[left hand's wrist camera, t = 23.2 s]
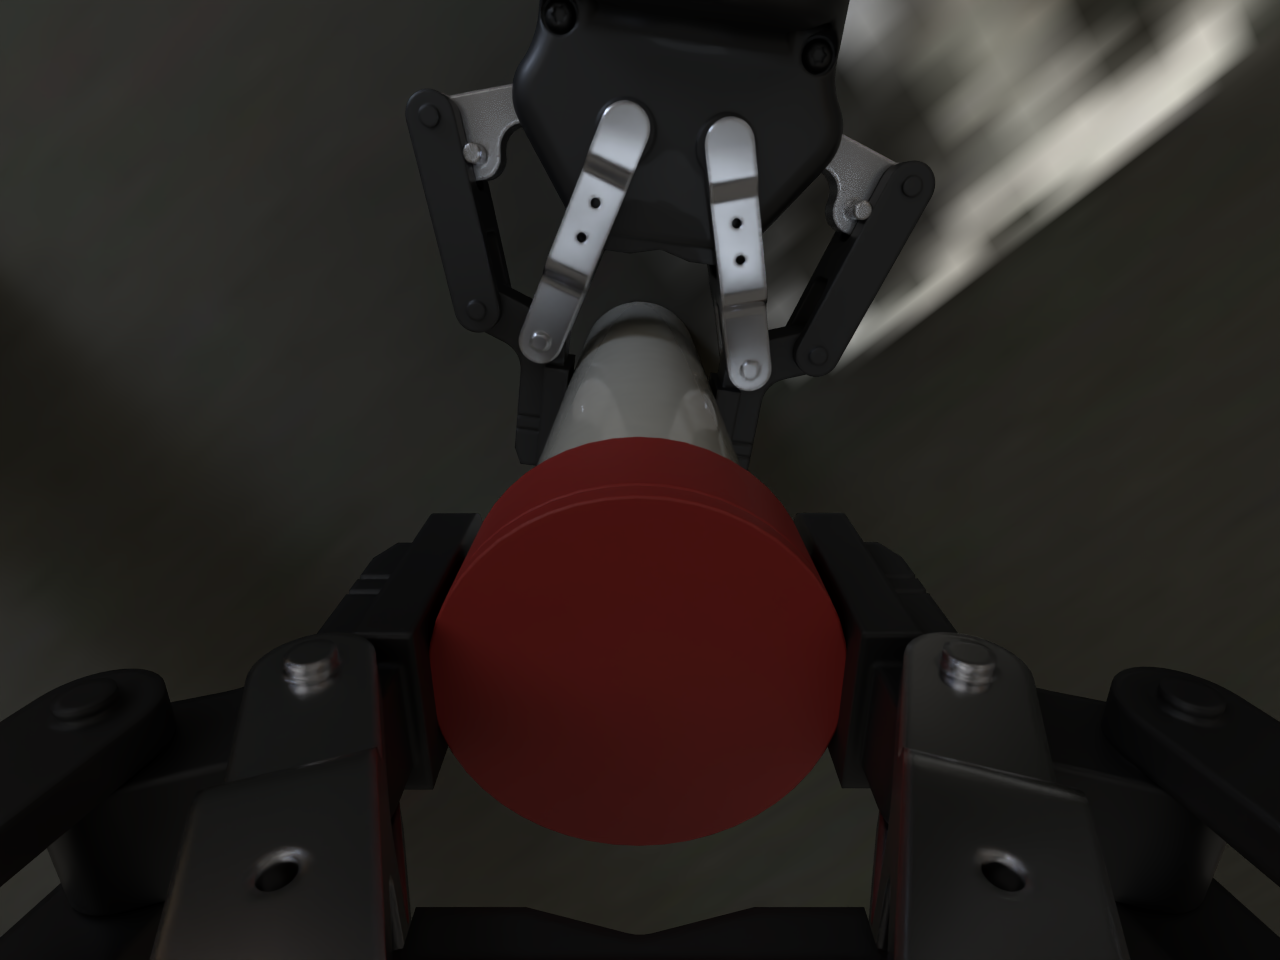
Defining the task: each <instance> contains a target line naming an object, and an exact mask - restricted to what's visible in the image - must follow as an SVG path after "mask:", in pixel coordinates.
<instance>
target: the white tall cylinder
mask: <svg viewBox="0 0 1280 960" xmlns="http://www.w3.org/2000/svg"><path fill="white" fill-rule="evenodd" d="M624 437H653V438H664V439H670V440H675V441H681V442H686V443H689V444H692V445H695V446H698V447H702V448H705V449H708V450H710V451H712V452H715V453H717V454H719V455H721V456H723V457H725V458H727V459H729V460H731V461H733V462H734V463H736V464H738V465H739V466H741V465H740V462H739V460H738V457H737V454H736V452H735V449H734V447H733V444H732V441H731V439H730V436H729V434H728V431H727V428H726V426H725V423H724V421H723V418H722V415H721V413H720V410H719V407H718V405H717V402H716V400H715V397H714V394H713V392H712V389H711V387H710V384H709V381H708V379H707V376H706V374H705V371H704V368H703V366H702V363H701V360H700V358H699V355H698V353H697V350H696V347H695V345H694V342H693V340H692V337H691V335H690V333H689V331H688V329H687V327H686V326H685V325H684V323H683V322H682V321H681V320H680V319H679V318H678V317H677V316H676V315H675V314H674V313H672V312H671V311H669V310H668V309H666V308H664V307H662V306H659V305H657V304H653V303H648V302H631V303H626V304H623V305H620V306H617V307H615V308H613V309H611V310H610V311H608V312H607V313H605V314H604V315H603V316H602V317H601V318H600V319H599V320H598V321H597V322H596V323H595V324H594V326H593V327H592V329H591V331H590V333H589V334H588V337H587V339H586V342H585V345H584V347H583V350H582V352H581V355H580V357H579V360H578V362H577V365H576V367H575V370H574V372H573V375H572V378H571V380H570V383H569V385H568V388H567V390H566V393H565V395H564V398H563V400H562V403H561V406H560V408H559V411H558V413H557V416H556V418H555V421H554V423H553V426H552V428H551V431H550V433H549V436H548V439H547V441H546V444H545V446H544V449H543V451H542V454H541V456H540V459H539V461H538V464H537V466H538V465H539V464H541V463H542V462H544V461H545V460H547V459H549V458H552V457H554V456H556V455H558V454H560V453H562V452H564V451H566V450H569V449H572V448H575V447H578V446H581V445H584V444H587V443H591V442H596V441H601V440H607V439H612V438H624Z"/></svg>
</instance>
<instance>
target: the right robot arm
mask: <svg viewBox="0 0 1280 960" xmlns="http://www.w3.org/2000/svg"><path fill="white" fill-rule="evenodd" d="M849 1H850V0H540V3H539V15H538V22H537V27H536V31H535V34H534V37H533V40H532V43H531V45H530V47H529V49H528V51H527V53H526V55H525V56H524V58H523V59H522V61H521V62H520V64H519V66H518V68H517V70H516V73H515V75H514V79H513V84H508V85H503V86H498V87H492V88H487V89H482V90H476V91H471V92H466V93H460V94H455V95H446V94H444V93H441V92H438V91H436V90H433V89H422V90H419V91H417V92H416V93H414V94H413V95H412V96H411V97H410V99H409V101H408V103H407V106H406V121H407V125H408V129H409V133H410V137H411V141H412V145H413V149H414V153H415V157H416V160H417V164H418V168H419V172H420V176H421V180H422V184H423V188H424V192H425V196H426V200H427V204H428V208H429V212H430V216H431V220H432V224H433V228H434V232H435V235H436V239H437V243H438V247H439V251H440V255H441V259H442V263H443V267H444V271H445V275H446V279H447V283H448V287H449V291H450V295H451V299H452V303H453V307H454V311H455V314H456V317H457V319H458V321H459V322H460V324H461V325H462V326H463V327H464V328H466V329H467V330H470V331H472V332H486V333H488V334H489V335H491V336H493V337H495V338H497V339H499V340H501V341H503V342H505V343H507V344H508V345H510V346H511V347H512V348H513V349H514V350H515V352H516V353H517V355H518V357H519V360H520V364H521V376H520V389H519V402H518V417H517V430H516V441H515V448H516V451H517V454H518V457H519V460H520V463H521V464H528V465H536V466H537V464H538V461H539V459H540V456H541V454H542V451H543V449H544V446H545V444H546V441H547V439H548V436H549V433H550V431H551V428H552V426H553V423H554V421H555V418H556V416H557V413H558V411H559V408H560V406H561V403H562V400H563V398H564V395H565V393H566V390H567V388H568V385H569V383H570V380H571V378H572V375H573V372H574V363H575V355H572V354H569V345H570V335H571V330H572V327H573V325H574V322H575V320H576V318H577V315H578V313H579V310H580V308H581V306H582V303H583V301H584V298H585V296H586V294H587V291H588V289H589V286H590V284H591V282H592V280H593V277H594V275H595V273H596V270H597V268H598V266H599V263H600V261H601V258H602V256H603V254H604V251H605V250H610V251H617V252H624V253H636V252H643V251H651V250H663V251H666V252H668V253H670V254H673V255H675V256H677V257H679V258H682V259H684V260H686V261H688V262H695V263H702V264H707V267H708V275H709V283H710V290H711V295H712V300H713V306H714V314H715V322H716V331H717V339H718V347H719V355H720V365H719V370H718V373H710V378H709V384H710V387H711V389H712V392H713V394H714V397H715V400H716V402H717V405H718V407H719V410H720V413H721V415H722V418H723V421H724V423H725V426H726V428H727V431H728V434H729V436H730V439H731V441H732V444H733V447H734V449H735V452H736V454H737V457H738V460H739V462H740V465H741V467H742V468H744V469H745V470H747V471H748V466H749V461H750V456H751V451H752V445H753V441H754V436H755V431H756V427H757V422H758V417H759V412H760V407H761V402H762V398H763V396H764V394H765V392H766V391H767V390H768V388H769V387H770V386H772V385H773V384H774V383H776V382H778V381H780V380H783V379H787V378H792V377H797V376H801V375H806V374H807V375H809V376H813V377H819V376H823V375H826V374H828V373H829V372H831V371H832V370H833V369H834V368H835V366H836V365H837V363H838V361H839V360H840V358H841V356H842V354H843V353H844V351H845V349H846V347H847V345H848V344H849V342H850V340H851V338H852V337H853V335H854V333H855V331H856V329H857V328H858V326H859V324H860V322H861V321H862V319H863V317H864V315H865V314H866V312H867V310H868V308H869V306H870V305H871V303H872V301H873V299H874V298H875V296H876V294H877V292H878V291H879V289H880V287H881V285H882V283H883V282H884V280H885V278H886V276H887V275H888V273H889V271H890V269H891V268H892V266H893V264H894V262H895V260H896V259H897V257H898V255H899V253H900V252H901V250H902V248H903V246H904V245H905V243H906V241H907V239H908V237H909V236H910V234H911V232H912V230H913V229H914V227H915V225H916V223H917V221H918V220H919V218H920V216H921V214H922V213H923V211H924V209H925V207H926V206H927V204H928V202H929V200H930V198H931V197H932V195H933V192H934V189H935V177H934V174H933V172H932V170H931V169H930V167H929V166H928V165H926V164H925V163H923V162H920V161H908V162H901V163H897V162H894V161H892V160H890V159H888V158H887V157H885V156H883V155H881V154H879V153H877V152H875V151H873V150H872V149H870V148H868V147H866V146H864V145H862V144H860V143H859V142H857V141H855V140H853V139H851V138H849V137H847V136H845V135H844V134H843V119H842V113H841V110H840V107H839V103H838V99H837V94H836V83H835V74H836V65H837V59H838V54H839V50H840V45H841V40H842V35H843V30H844V25H845V20H846V15H847V10H848V5H849ZM522 127H523V129H524V131H525V133H526V135H527V137H528V139H529V140H530V142H531V144H532V146H533V148H534V150H535V152H536V153H537V155H538V157H539V159H540V161H541V163H542V165H543V167H544V168H545V170H546V172H547V174H548V176H549V178H550V180H551V181H552V183H553V185H554V187H555V189H556V191H557V193H558V194H559V196H560V198H561V200H562V202H563V204H564V206H565V208H566V209H567V210H566V212H565V215H564V217H563V220H562V222H561V225H560V228H559V230H558V233H557V235H556V238H555V240H554V243H553V245H552V248H551V251H550V253H549V256H548V258H547V261H546V264H545V267H544V270H543V275H542V278H541V281H540V283H539V286H538V288H537V291H536V293H535V296H534V298H533V299H532V298H530V297H528V296H526V295H524V294H522V293H520V292H518V291H516V290H514V289H513V288H511V283H510V279H509V274H508V270H507V265H506V261H505V256H504V252H503V247H502V243H501V238H500V234H499V229H498V225H497V220H496V216H495V211H494V207H493V202H492V198H491V193H490V189H489V184H488V181H490V180H494V179H496V178H497V177H499V176H500V175H501V174H502V172H503V171H504V169H505V166H506V161H507V156H506V146H507V142H508V140H509V138H510V136H511V135H512V134H513V132H515V131H516V130H517V129H519V128H522ZM820 173H822V174H823V175H824V176H825V177H826V179H827V181H828V184H829V198H828V201H827V204H826V207H825V218H826V221H827V223H828V224H829V226H830V227H831V228H832V229H834V230H835V231H836V232H835V234H834V236H833V237H832V239H831V241H830V243H829V245H828V247H827V249H826V251H825V253H824V254H823V256H822V258H821V260H820V262H819V264H818V266H817V268H816V270H815V272H814V273H813V275H812V277H811V279H810V281H809V283H808V285H807V287H806V289H805V290H804V292H803V294H802V296H801V298H800V300H799V302H798V304H797V306H796V307H795V309H794V311H793V313H792V315H791V317H790V319H789V321H788V323H787V325H786V326H785V327H781V328H776V329H771V330H768V325H767V314H766V303H767V283H766V272H765V262H764V251H763V240H762V234H763V233H764V232H765V231H766V230H767V229H768V228H769V227H770V225H771V224H772V223H773V222H774V221H775V220H776V219H777V218H778V217H779V216H780V215H781V214H782V213H783V212H784V211H785V210H786V209H787V208H788V207H789V206H790V205H791V204H792V203H793V202H794V201H795V199H796V198H797V197H798V196H799V195H800V194H801V193H802V192H803V191H804V190H805V189H806V188H807V187H808V186H809V185H810V184H811V183H812V182H813V181H814V180H815V179H816V178H817V177H818V176H819V175H820Z"/></svg>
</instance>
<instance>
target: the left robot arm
mask: <svg viewBox="0 0 1280 960" xmlns="http://www.w3.org/2000/svg"><path fill="white" fill-rule="evenodd" d="M794 524H795V526H796V528H797V530H798V532H799V534H800V536H801V538H802V540H803V542H804V545H805V547H806V549H807V551H808V553H809V555H810V557H811V559H812V561H813V563H814V565H815V567H816V570H817V572H818V574H819V576H820V578H821V580H822V582H823V584H824V586H825V588H826V590H827V592H828V595H829V597H830V599H831V601H832V603H833V605H834V607H835V610H836V612H837V614H838V616H839V618H840V622H841V626H842V629H843V633H844V636H845V640H846V661H845V669H844V677H843V685H842V693H841V701H840V709H839V717H838V724H837V728H836V731H835V733H834V735H833V737H832V739H831V741H830V743H829V745H828V749H829V752H830V755H831V758H832V761H833V764H834V767H835V769H836V772H837V775H838V778H839V781H840V784H841V787H842V788H871V790H872V793H873V796H874V798H875V801H876V803H877V806H878V808H879V815H878V822H877V828H876V839H875V851H874V863H873V874H872V886H871V898H870V910H869V921H868V918H867V915H866V912H865V909H864V907H753V908H749V909H745V910H741V911H738V912H734V913H730V914H726V915H722V916H718V917H714V918H710V919H706V920H702V921H699V922H695V923H691V924H687V925H683V926H679V927H675V928H671V929H667V930H664V931H660V932H656V933H652V934H646V935H634V934H628V933H624V932H620V931H616V930H613V929H609V928H605V927H601V926H597V925H593V924H589V923H585V922H581V921H578V920H574V919H570V918H566V917H562V916H558V915H554V914H550V913H546V912H542V911H539V910H535V909H531V908H527V907H416V909H415V912H414V915H413V918H412V921H411V910H410V898H409V886H408V875H407V863H406V851H405V839H404V828H403V822H402V815H401V809H400V803H399V801H400V798H401V796H402V793H403V791H404V789H433V788H434V785H435V782H436V779H437V777H438V774H439V771H440V768H441V765H442V762H443V760H444V757H445V754H446V751H447V748H448V744H447V742H446V740H445V739H444V737H443V735H442V733H441V730H440V728H439V725H438V720H437V713H436V706H435V698H434V690H433V682H432V674H431V666H430V656H429V645H430V640H431V636H432V633H433V629H434V625H435V621H436V618H437V616H438V614H439V612H440V609H441V607H442V605H443V603H444V600H445V598H446V596H447V594H448V592H449V590H450V588H451V586H452V584H453V582H454V580H455V578H456V576H457V574H458V572H459V570H460V568H461V566H462V564H463V562H464V560H465V558H466V556H467V554H468V551H469V549H470V547H471V545H472V543H473V541H474V539H475V537H476V535H477V533H478V531H479V529H480V527H481V525H482V519H481V516H480V515H479V514H478V513H433V514H431V515H430V517H429V518H428V520H427V521H426V523H425V524H424V526H423V527H422V529H421V530H420V532H419V533H418V535H417V536H416V538H415V539H414V541H413V542H412V543H397V544H395V545H394V546H392V547H390V548H389V549H387V550H386V551H384V552H382V553H381V554H379V555H378V556H376V557H374V558H373V559H372V561H371V562H370V563H369V565H368V566H367V567H366V569H365V570H364V571H363V573H362V574H361V575H360V579H358V580H357V581H356V582H355V584H354V585H353V586H352V588H351V589H350V590H349V594H346V596H345V597H344V598H343V600H342V601H341V602H340V604H339V605H338V606H337V608H336V609H335V610H334V612H333V613H332V614H331V616H330V617H329V618H328V620H327V621H326V622H325V624H324V625H323V626H322V628H321V629H320V630H319V632H318V633H317V634H314V635H310V636H305V637H302V638H299V639H295V640H293V641H290V642H288V643H285V644H283V645H281V646H279V647H277V648H275V649H273V650H272V651H270V652H269V653H267V654H266V655H264V656H263V657H262V658H260V659H259V660H258V661H257V662H256V663H255V664H254V665H253V666H252V668H251V669H250V671H249V672H248V675H247V678H246V681H245V686H244V687H242V688H239V689H235V690H231V691H227V692H222V693H217V694H212V695H207V696H201V697H196V698H191V699H186V700H181V701H176V702H171V703H170V699H169V696H168V692H167V689H166V685H165V683H164V680H163V678H162V677H160V676H159V675H158V674H156V673H154V672H152V671H148V670H143V669H120V670H112V671H106V672H101V673H97V674H93V675H90V676H86V677H83V678H80V679H77V680H74V681H72V682H69V683H67V684H64V685H62V686H60V687H58V688H56V689H54V690H52V691H50V692H48V693H46V694H44V695H43V696H41V697H39V698H37V699H36V700H34V701H33V702H31V703H29V704H28V705H26V706H25V707H23V708H22V709H20V710H18V711H17V712H15V713H14V714H12V715H11V716H9V717H7V718H6V719H4V720H3V721H1V722H0V887H1V886H2V885H3V884H4V883H6V882H7V881H8V880H9V879H10V878H12V877H13V876H14V875H15V874H16V873H18V872H19V871H20V870H21V869H22V868H24V867H25V866H26V865H27V864H28V863H30V862H31V861H32V860H33V859H34V858H35V857H37V856H38V855H39V854H40V853H41V852H43V851H44V850H45V849H46V848H47V850H48V852H49V855H50V857H51V860H52V862H53V864H54V867H55V869H56V872H57V874H58V877H59V879H60V882H61V883H60V884H59V885H58V886H57V887H56V888H55V889H54V890H53V891H52V892H50V893H49V894H48V895H47V896H46V897H45V898H44V899H43V900H42V901H40V902H39V903H38V904H37V905H36V906H35V907H34V908H33V909H32V910H30V911H29V912H28V913H27V914H26V915H25V916H24V917H23V918H22V919H20V920H19V921H18V922H17V923H16V924H15V925H14V926H13V927H12V928H10V929H9V930H8V931H7V932H6V933H5V934H4V935H3V936H1V937H0V960H1280V937H1278V936H1277V935H1276V934H1275V933H1274V932H1273V931H1272V930H1271V929H1270V928H1268V927H1267V926H1266V925H1265V924H1264V923H1263V922H1262V921H1261V920H1260V919H1258V918H1257V917H1256V916H1255V915H1254V914H1253V913H1252V912H1251V911H1250V910H1248V909H1247V908H1246V907H1245V906H1244V905H1243V904H1242V903H1241V902H1240V901H1238V900H1237V899H1236V898H1235V897H1234V896H1233V895H1232V894H1231V893H1230V892H1228V891H1227V890H1226V889H1225V888H1224V887H1223V886H1222V885H1221V884H1220V883H1218V882H1217V881H1216V880H1215V879H1214V878H1213V876H1214V873H1215V871H1216V868H1217V866H1218V863H1219V861H1220V858H1221V856H1222V853H1223V851H1224V848H1225V846H1226V843H1228V844H1229V845H1230V846H1231V847H1233V848H1234V849H1235V850H1236V851H1237V852H1239V853H1240V854H1241V855H1242V856H1243V857H1244V858H1246V859H1247V860H1248V861H1249V862H1250V863H1252V864H1253V865H1254V866H1255V867H1256V868H1258V869H1259V870H1260V871H1261V872H1262V873H1264V874H1265V875H1266V876H1267V877H1268V878H1270V879H1271V880H1272V881H1273V882H1274V883H1276V884H1277V885H1278V886H1279V887H1280V722H1279V721H1277V720H1276V719H1274V718H1273V717H1271V716H1269V715H1268V714H1266V713H1265V712H1263V711H1262V710H1260V709H1258V708H1257V707H1255V706H1254V705H1252V704H1251V703H1249V702H1247V701H1246V700H1244V699H1243V698H1241V697H1240V696H1238V695H1236V694H1234V693H1233V692H1231V691H1229V690H1227V689H1225V688H1223V687H1221V686H1219V685H1217V684H1215V683H1213V682H1210V681H1208V680H1205V679H1203V678H1200V677H1197V676H1194V675H1191V674H1187V673H1184V672H1180V671H1176V670H1171V669H1165V668H1157V667H1134V668H1129V669H1125V670H1123V671H1121V672H1119V673H1118V674H1117V675H1116V676H1115V677H1114V679H1113V681H1112V684H1111V687H1110V691H1109V694H1108V698H1107V701H1106V702H1104V701H1099V700H1094V699H1089V698H1084V697H1079V696H1074V695H1068V694H1063V693H1058V692H1053V691H1048V690H1044V689H1040V688H1036V686H1035V682H1034V678H1033V675H1032V672H1031V671H1030V669H1029V668H1028V666H1027V665H1026V664H1025V663H1024V662H1023V661H1022V660H1021V659H1020V658H1018V657H1017V656H1016V655H1014V654H1013V653H1011V652H1010V651H1008V650H1007V649H1005V648H1003V647H1001V646H999V645H997V644H995V643H992V642H990V641H987V640H985V639H981V638H978V637H975V636H970V635H966V634H959V633H958V632H957V631H956V630H955V628H954V627H953V626H952V624H951V623H950V622H949V620H948V619H947V618H946V616H945V615H944V614H943V612H942V611H941V609H940V608H939V607H938V605H937V604H936V603H935V601H934V600H933V599H932V597H931V596H930V595H929V593H926V589H925V588H924V586H923V585H922V584H921V582H920V581H919V580H918V578H915V574H914V573H913V572H912V570H911V569H910V567H909V566H908V565H907V563H906V562H905V561H904V559H903V558H902V557H901V556H899V555H898V554H896V553H894V552H893V551H891V550H890V549H888V548H886V547H885V546H883V545H882V544H880V543H878V542H863V541H862V539H861V538H860V536H859V534H858V533H857V531H856V530H855V528H854V527H853V525H852V524H851V522H850V521H849V519H848V518H847V516H846V515H845V514H844V513H797V514H796V516H795V519H794Z"/></svg>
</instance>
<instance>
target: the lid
mask: <svg viewBox="0 0 1280 960" xmlns="http://www.w3.org/2000/svg"><path fill="white" fill-rule="evenodd" d="M429 656H430V666H431V674H432V682H433V690H434V698H435V706H436V713H437V720H438V725H439V728H440V730H441V733H442V735H443V737H444V739H445V740H446V742H447V744H448V746H449V748H450V749H451V751H452V753H453V754H454V756H455V757H456V758H457V760H458V761H459V762H460V764H461V765H462V767H463V768H464V769H465V771H466V772H467V773H468V774H469V775H470V776H471V777H472V778H473V779H474V780H475V781H476V782H477V783H478V784H479V785H480V786H481V787H482V788H483V789H484V790H485V791H486V792H488V793H489V794H490V795H491V796H493V797H494V798H495V799H496V800H497V801H499V802H500V803H501V804H503V805H504V806H506V807H508V808H509V809H511V810H512V811H514V812H515V813H517V814H519V815H520V816H522V817H524V818H526V819H528V820H530V821H532V822H534V823H536V824H538V825H541V826H543V827H545V828H548V829H551V830H553V831H556V832H559V833H562V834H565V835H568V836H572V837H576V838H580V839H584V840H588V841H593V842H600V843H607V844H614V845H635V846H642V845H662V844H670V843H676V842H683V841H689V840H693V839H697V838H701V837H705V836H708V835H712V834H715V833H718V832H720V831H723V830H726V829H729V828H731V827H734V826H736V825H738V824H740V823H742V822H744V821H746V820H748V819H750V818H752V817H754V816H756V815H758V814H760V813H761V812H763V811H764V810H766V809H767V808H769V807H770V806H772V805H774V804H775V803H777V802H778V801H779V800H780V799H782V798H783V797H784V796H785V795H786V794H788V793H789V792H790V791H791V790H793V789H794V788H795V787H796V786H797V785H798V784H799V783H800V782H801V781H802V780H803V778H804V777H805V776H806V775H807V774H808V773H809V772H810V771H811V770H812V768H813V767H814V766H815V764H816V763H817V762H818V760H819V759H820V758H821V756H822V755H823V753H824V752H825V750H826V748H827V746H828V745H829V743H830V741H831V739H832V737H833V735H834V733H835V731H836V728H837V724H838V717H839V709H840V701H841V693H842V685H843V677H844V669H845V661H846V640H845V636H844V633H843V629H842V626H841V622H840V618H839V616H838V614H837V612H836V610H835V607H834V605H833V603H832V601H831V599H830V597H829V595H828V592H827V590H826V588H825V586H824V584H823V582H822V580H821V578H820V576H819V574H818V572H817V570H816V567H815V565H814V563H813V561H812V559H811V557H810V555H809V553H808V551H807V549H806V547H805V545H804V542H803V540H802V538H801V536H800V534H799V532H798V530H797V528H796V526H795V524H794V522H793V520H792V519H791V517H790V516H789V514H788V513H787V511H786V509H785V508H784V506H783V505H782V503H781V502H780V501H779V500H778V499H777V498H776V497H775V496H774V494H773V493H772V492H771V491H770V490H769V489H768V488H767V487H766V486H765V485H764V484H763V483H762V482H760V481H759V480H758V479H757V478H756V477H755V476H753V475H752V474H751V473H750V472H748V471H747V470H745V469H744V468H742V467H741V466H739V465H738V464H736V463H734V462H733V461H731V460H729V459H727V458H725V457H723V456H721V455H719V454H717V453H715V452H712V451H710V450H708V449H705V448H702V447H698V446H695V445H692V444H689V443H686V442H681V441H675V440H670V439H664V438H653V437H624V438H612V439H607V440H601V441H596V442H591V443H587V444H584V445H581V446H578V447H575V448H572V449H569V450H566V451H564V452H562V453H560V454H558V455H556V456H554V457H552V458H549V459H547V460H545V461H544V462H542V463H541V464H539V465H538V466H536V467H534V468H533V469H531V470H530V471H528V472H527V473H525V474H524V475H523V476H522V477H521V478H520V479H519V480H517V481H516V482H515V483H514V484H513V485H512V486H510V487H509V488H508V489H507V491H506V492H505V493H504V494H503V495H502V496H501V497H500V499H499V500H498V501H497V502H496V503H495V504H494V506H493V507H492V509H491V511H490V512H489V514H488V515H487V517H486V518H485V520H484V521H483V523H482V525H481V527H480V529H479V531H478V533H477V535H476V537H475V539H474V541H473V543H472V545H471V547H470V549H469V551H468V554H467V556H466V558H465V560H464V562H463V564H462V566H461V568H460V570H459V572H458V574H457V576H456V578H455V580H454V582H453V584H452V586H451V588H450V590H449V592H448V594H447V596H446V598H445V600H444V603H443V605H442V607H441V609H440V612H439V614H438V616H437V618H436V621H435V625H434V629H433V633H432V636H431V640H430V645H429Z"/></svg>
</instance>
